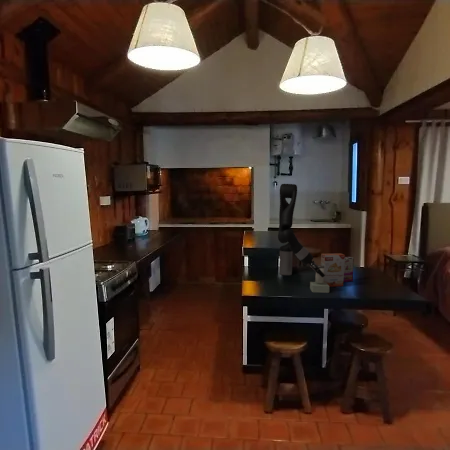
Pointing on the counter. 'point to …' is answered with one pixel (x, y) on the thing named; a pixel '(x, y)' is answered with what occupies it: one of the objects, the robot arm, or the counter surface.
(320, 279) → the jar
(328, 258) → the cracker box
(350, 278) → the candy bar box
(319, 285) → the base
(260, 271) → the counter surface
